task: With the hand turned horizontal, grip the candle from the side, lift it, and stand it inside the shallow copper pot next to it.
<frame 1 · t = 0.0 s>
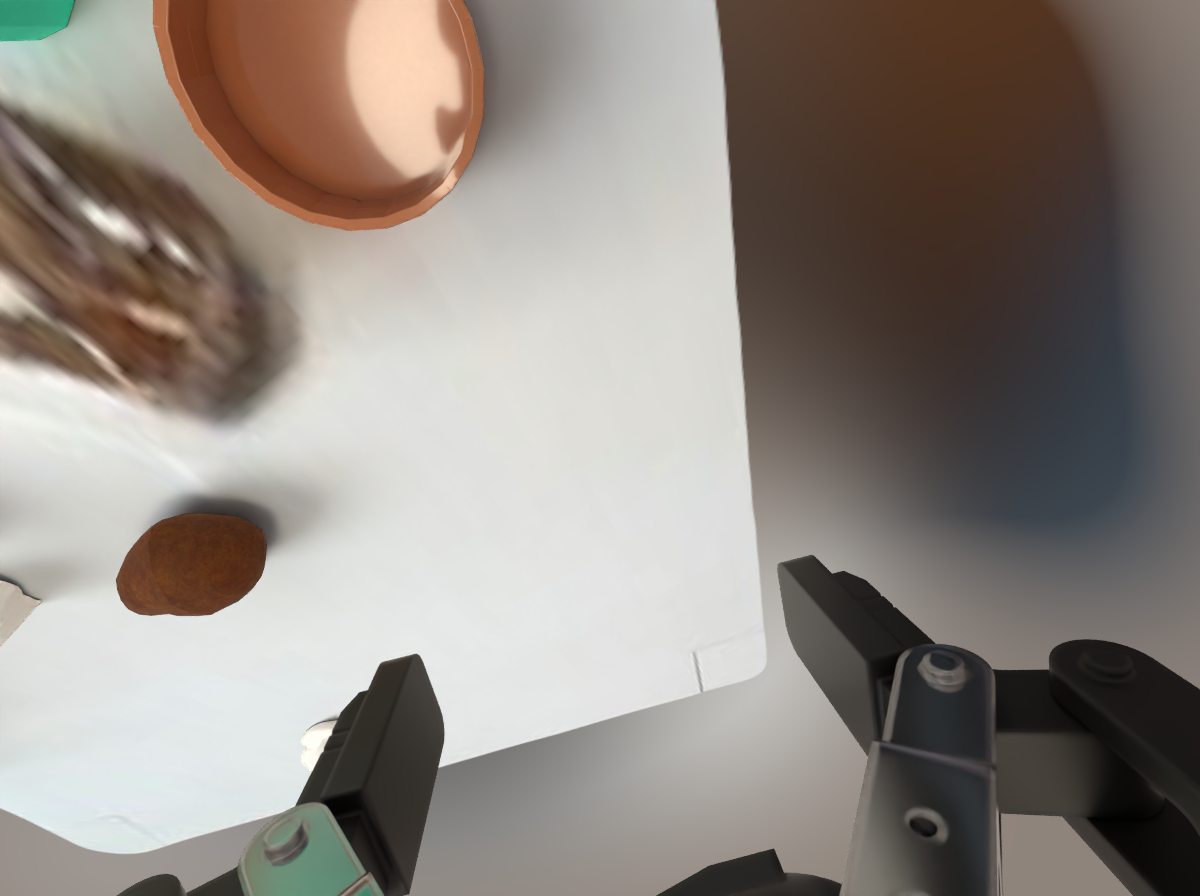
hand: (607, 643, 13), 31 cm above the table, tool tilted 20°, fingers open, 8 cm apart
pot: (349, 68, 31), on the table
potato: (213, 530, 48), on the table
rose: (347, 737, 67), on the table
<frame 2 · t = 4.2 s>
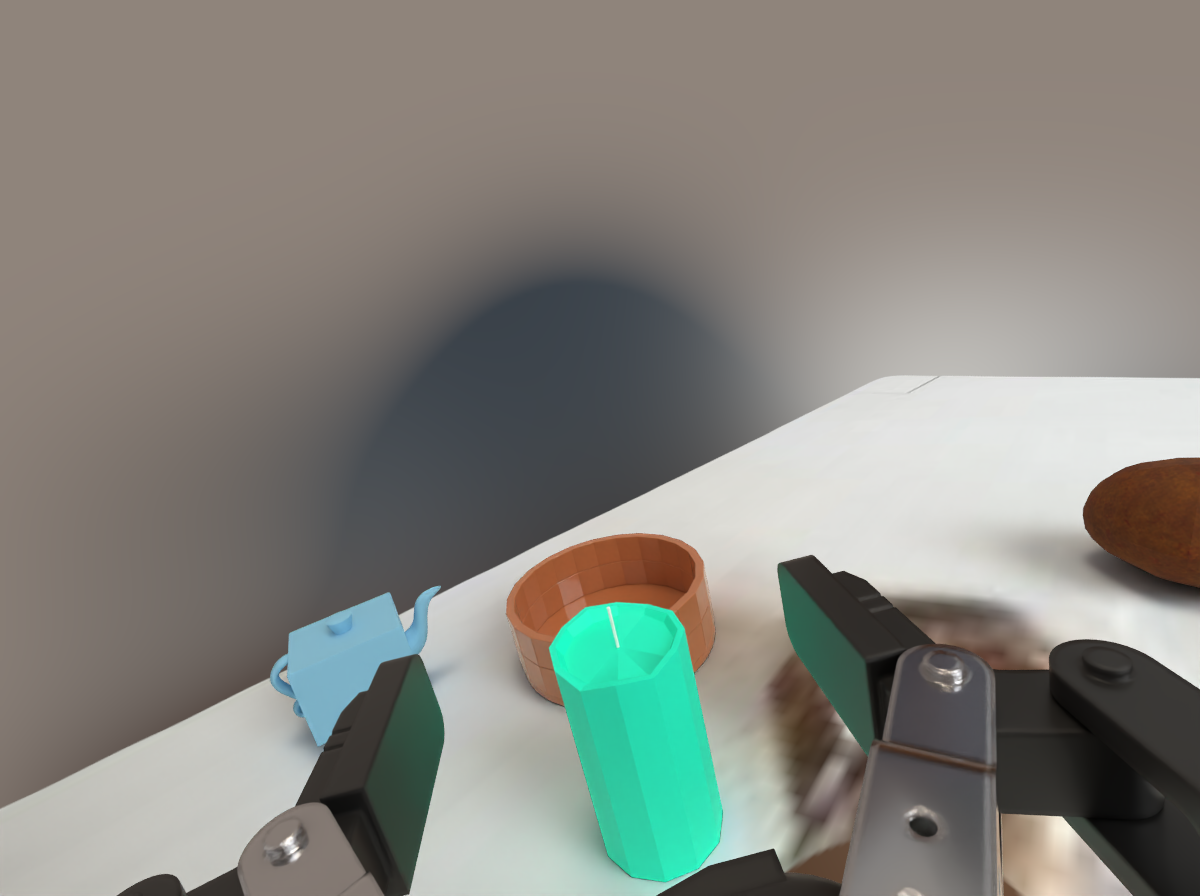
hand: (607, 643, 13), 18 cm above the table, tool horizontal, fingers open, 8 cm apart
teapot: (387, 701, 42), on the table
pot: (618, 639, 43), on the table
candle: (662, 823, 28), on the table
potato: (1192, 578, 36), on the table
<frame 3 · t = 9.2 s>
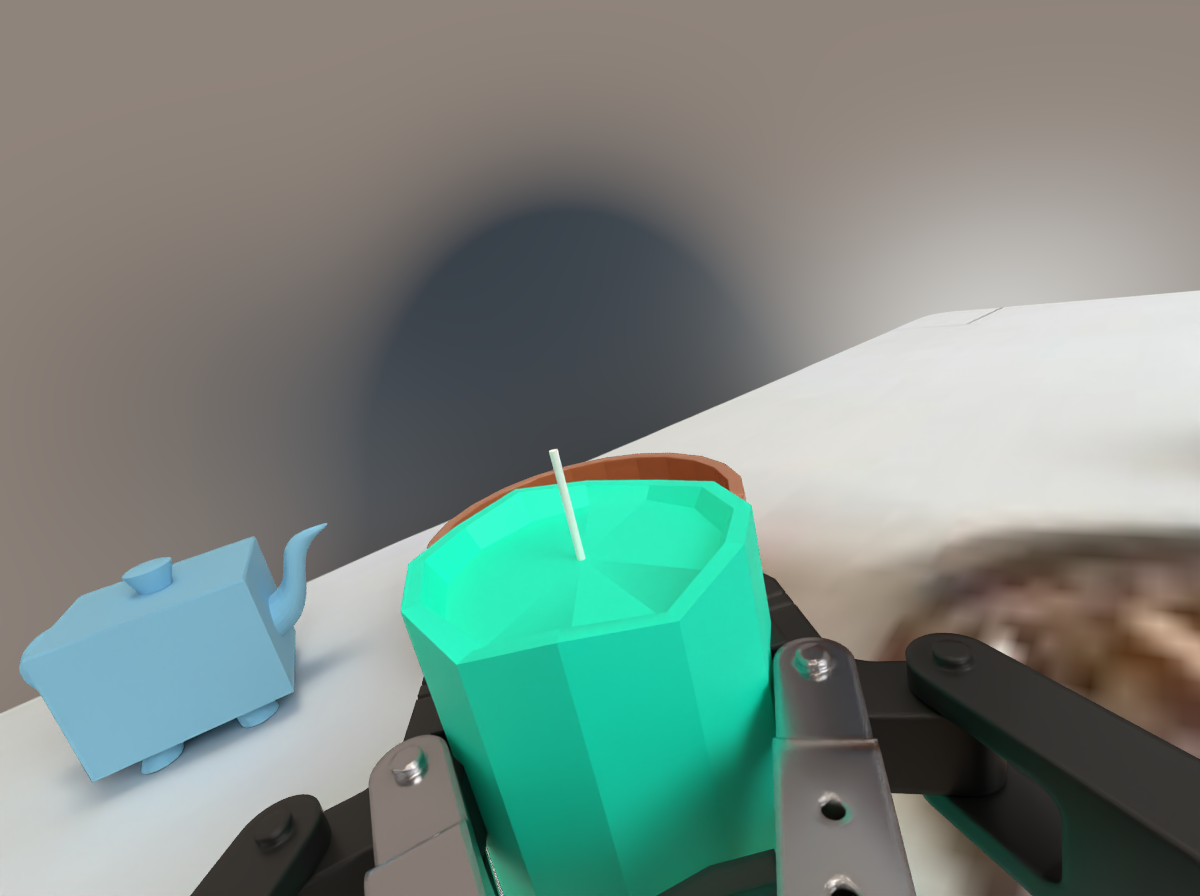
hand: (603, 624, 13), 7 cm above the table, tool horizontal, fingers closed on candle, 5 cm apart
teapot: (242, 705, 27), on the table
pot: (606, 605, 27), on the table
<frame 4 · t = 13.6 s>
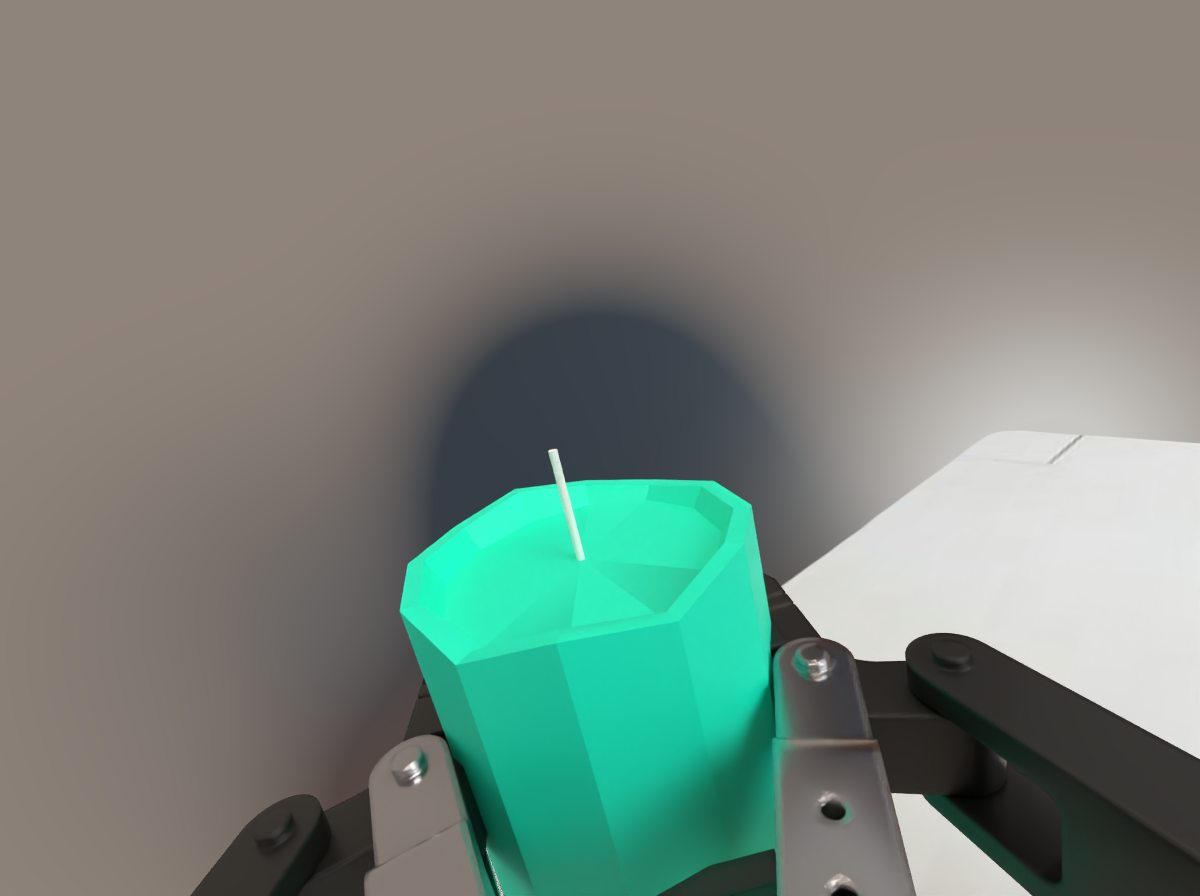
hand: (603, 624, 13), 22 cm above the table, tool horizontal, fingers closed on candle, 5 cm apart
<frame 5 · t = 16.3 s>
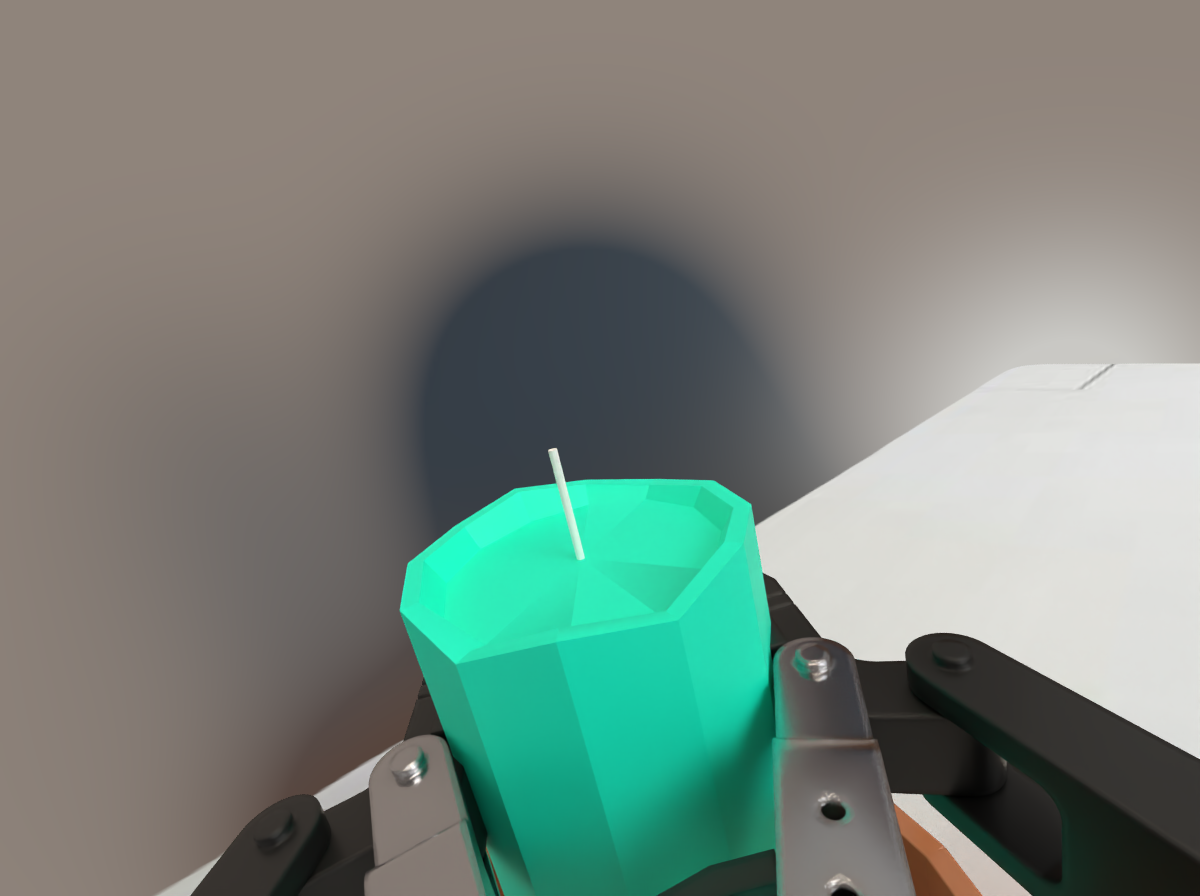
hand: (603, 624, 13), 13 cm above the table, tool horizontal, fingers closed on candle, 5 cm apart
when the fingers open (8 cm above the table, at t = 18.3 s): candle stays where it is, resting on pot.
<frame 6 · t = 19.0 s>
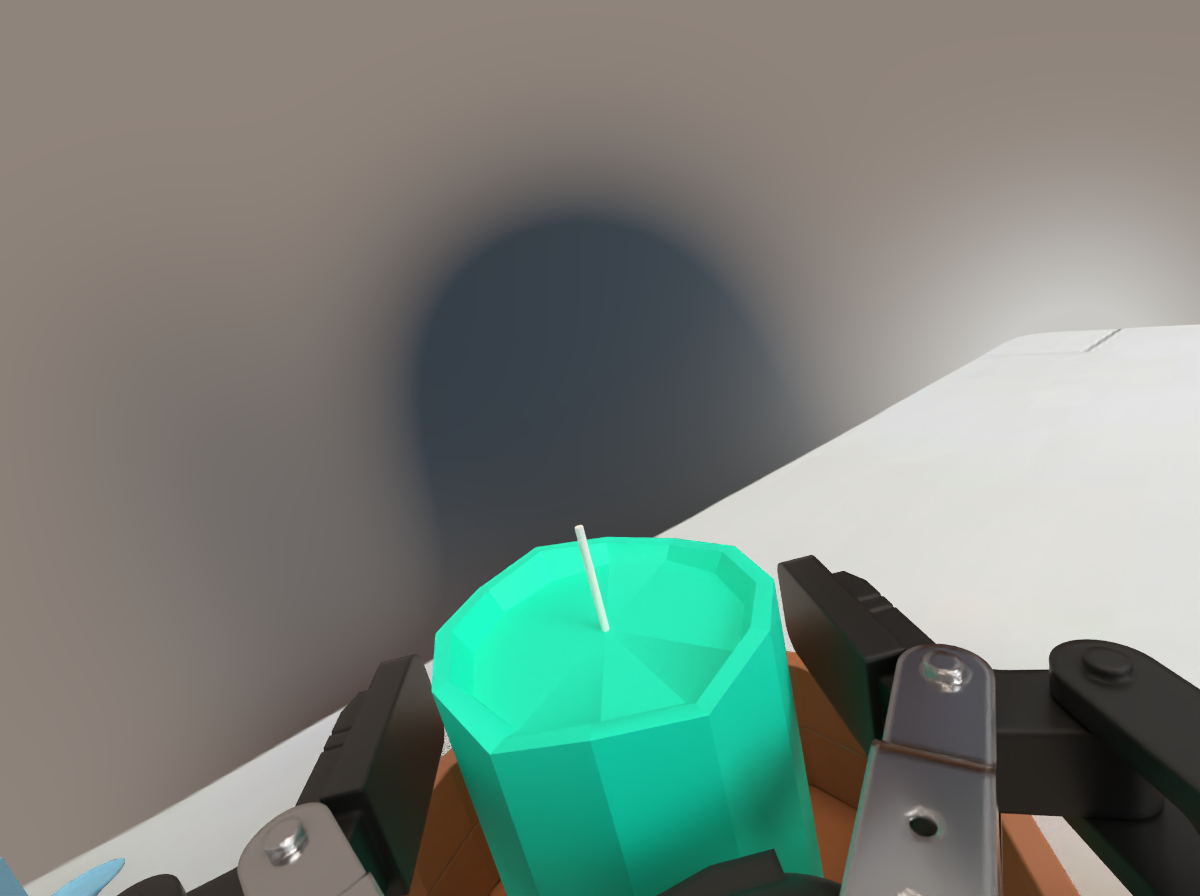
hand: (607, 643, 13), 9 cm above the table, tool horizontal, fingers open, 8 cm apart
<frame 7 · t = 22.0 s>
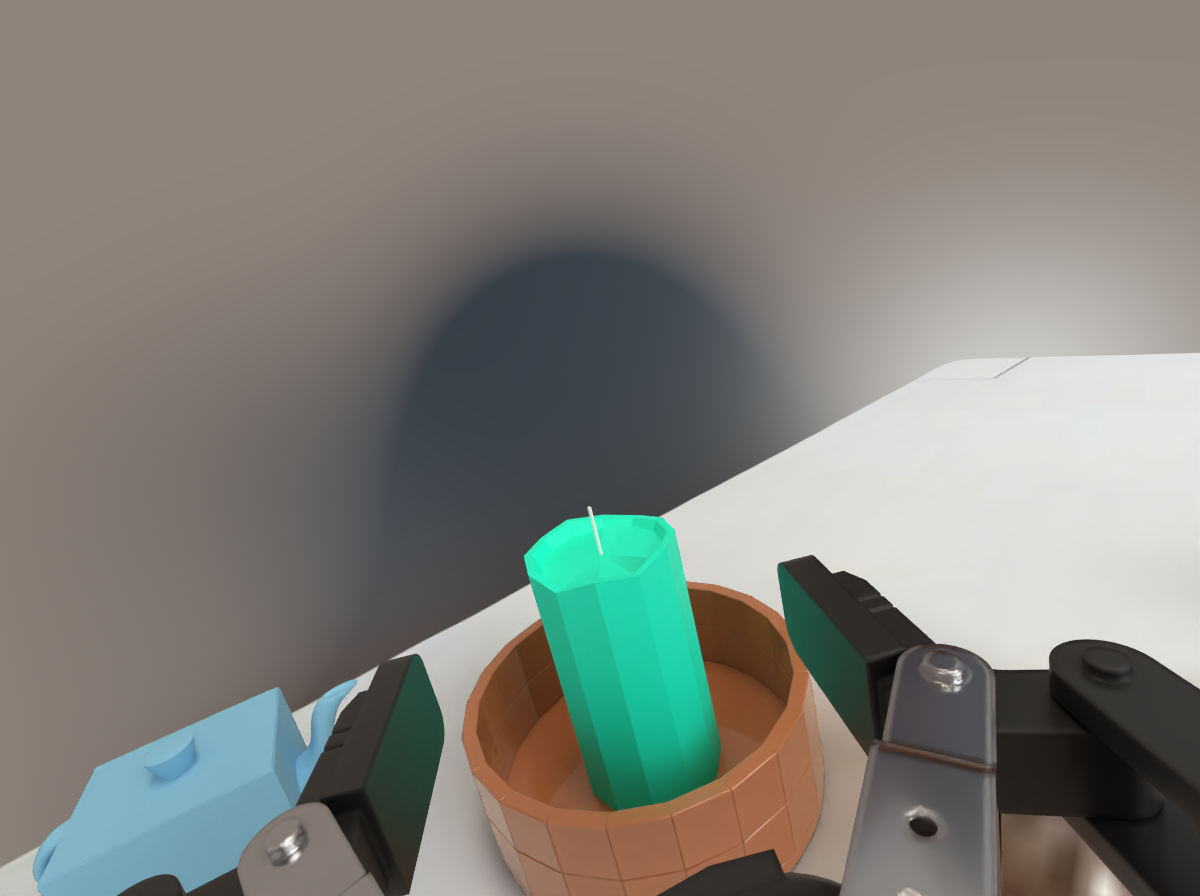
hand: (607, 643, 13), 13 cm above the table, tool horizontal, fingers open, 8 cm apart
teapot: (268, 877, 25), on the table
pot: (653, 765, 26), on the table
candle: (654, 760, 26), resting on pot
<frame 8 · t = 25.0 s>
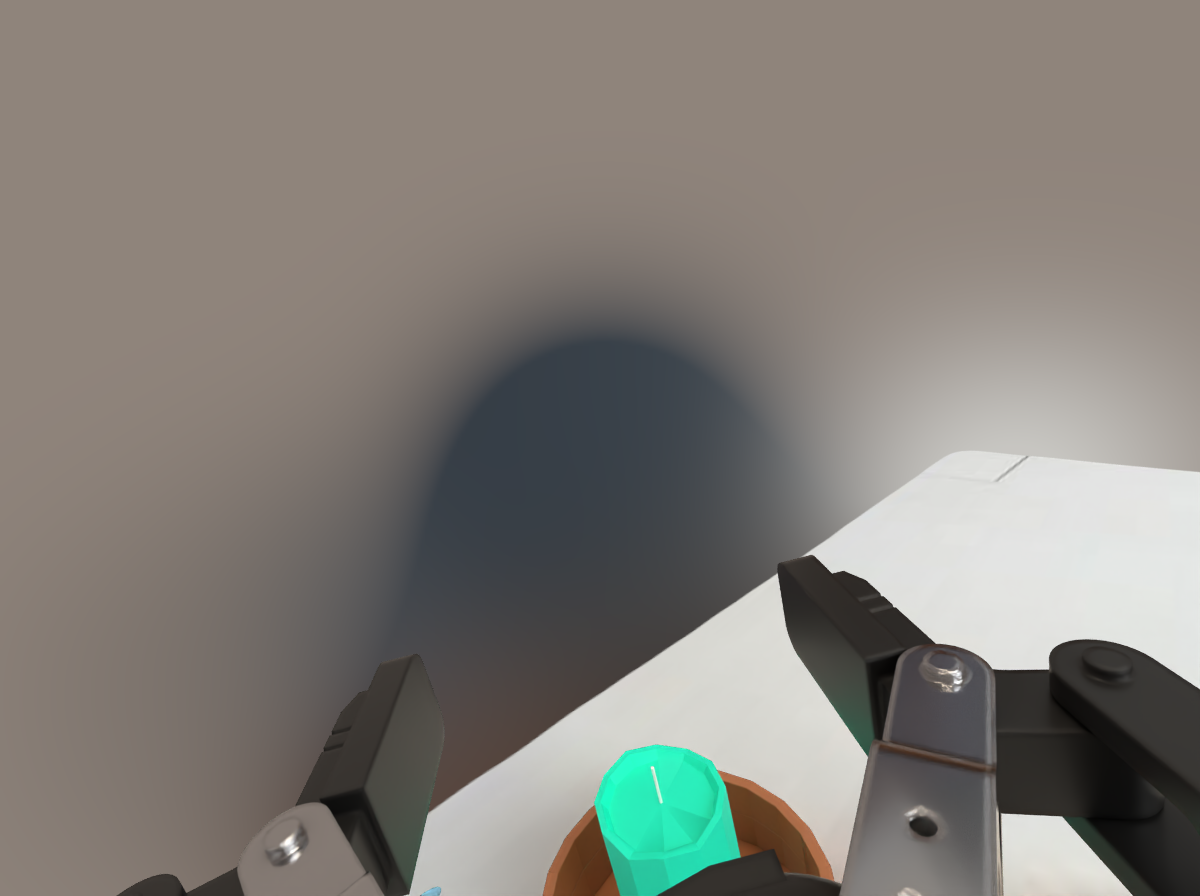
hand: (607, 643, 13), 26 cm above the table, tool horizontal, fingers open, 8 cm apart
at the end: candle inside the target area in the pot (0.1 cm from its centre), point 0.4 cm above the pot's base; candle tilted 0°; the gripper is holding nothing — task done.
